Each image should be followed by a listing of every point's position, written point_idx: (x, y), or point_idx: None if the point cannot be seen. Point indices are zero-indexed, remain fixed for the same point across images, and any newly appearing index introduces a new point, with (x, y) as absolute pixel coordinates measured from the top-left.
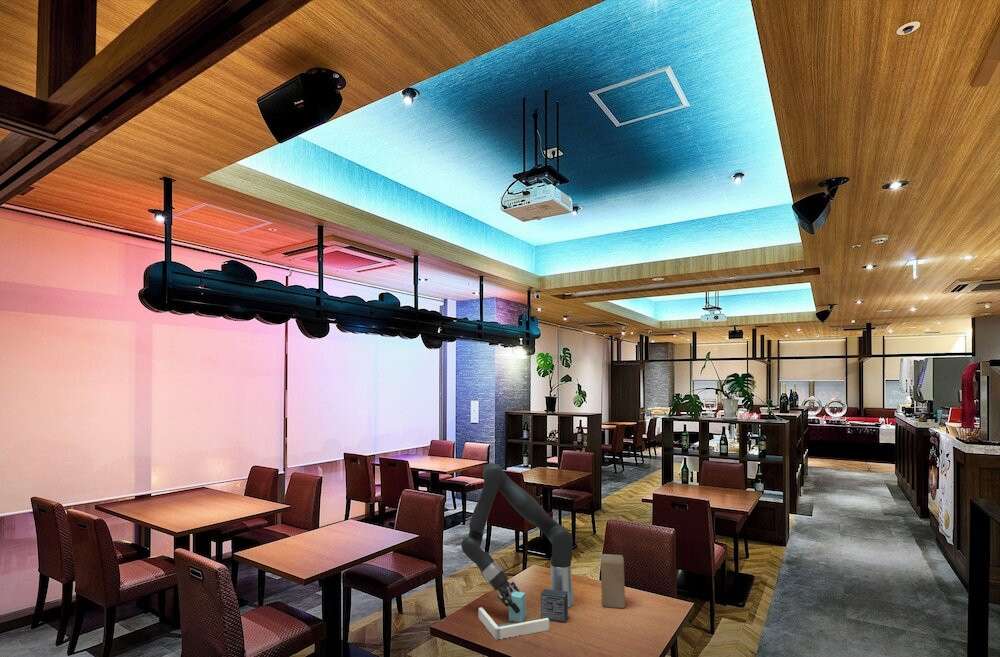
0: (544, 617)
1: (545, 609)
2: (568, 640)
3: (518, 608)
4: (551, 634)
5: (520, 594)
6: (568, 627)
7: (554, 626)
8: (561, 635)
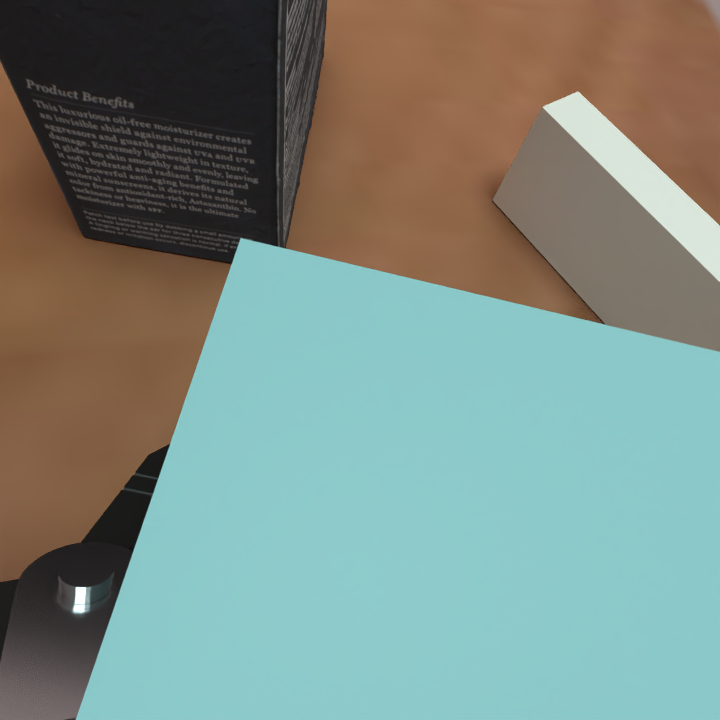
0: (290, 211)
1: (296, 114)
2: (639, 59)
3: None
4: None
5: (468, 420)
6: (408, 41)
7: (426, 141)
8: None
